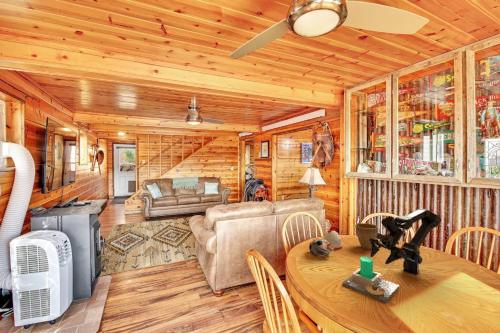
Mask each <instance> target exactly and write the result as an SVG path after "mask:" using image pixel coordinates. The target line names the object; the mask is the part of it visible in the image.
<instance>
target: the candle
mask: <svg viewBox="0 0 500 333" xmlns="http://www.w3.org/2000/svg"><path fill="white" fill-rule="evenodd" d="M359 259H360V262H359V263H360V264H359V265H360V267H359V268H360V275H361V276H364V277H367V278H369V279H373V271H374V260H373V258H371V257H368V256H367V255H366V256H361V257H360V258H359Z"/></svg>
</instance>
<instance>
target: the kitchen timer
mask: <svg viewBox="0 0 500 333" xmlns="http://www.w3.org/2000/svg"><path fill="white" fill-rule="evenodd" d="M337 229H338V227H336V226H335V225H334V226H333V225H332V226H330V227H329V228H328V229H327V232H326V233H325V234H324V235H323V239H324V240H326V241H328V242H329V244H331V245H333V246H334V249H333V250H332V251H339V250H342V249H343V242H342V239H341V237H340V235H339V233H338V232H337Z"/></svg>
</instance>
